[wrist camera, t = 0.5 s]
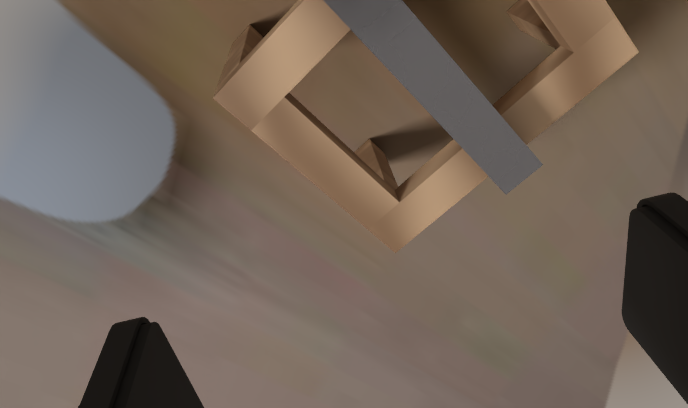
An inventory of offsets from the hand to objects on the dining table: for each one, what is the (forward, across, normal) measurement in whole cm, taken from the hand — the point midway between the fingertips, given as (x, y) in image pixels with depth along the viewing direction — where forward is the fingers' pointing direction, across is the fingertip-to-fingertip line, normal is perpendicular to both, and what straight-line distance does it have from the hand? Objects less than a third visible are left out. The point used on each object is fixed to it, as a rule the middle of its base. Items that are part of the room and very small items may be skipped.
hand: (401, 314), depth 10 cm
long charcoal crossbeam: (+18, -5, +2) cm, 19 cm away
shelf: (+30, -5, +2) cm, 31 cm away
